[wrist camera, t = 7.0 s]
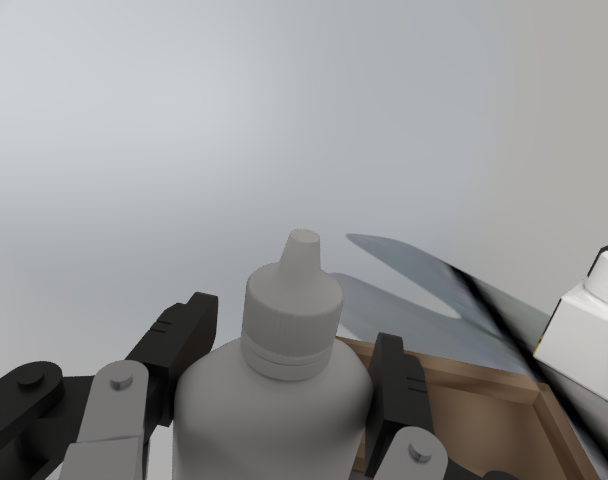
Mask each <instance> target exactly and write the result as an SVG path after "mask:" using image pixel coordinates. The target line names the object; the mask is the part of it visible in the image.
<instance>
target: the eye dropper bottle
mask: <svg viewBox="0 0 608 480" xmlns="http://www.w3.org/2000/svg"><path fill="white" fill-rule="evenodd" d="M343 302H344V293H343V290H342V288H341V286H340V285H339V283H338V282H337V281H336V280H335V279H334V278H333V277H332V276H331V275H329V274H328V273H326V272H324V271H323V270H321V268H320V237H319V235H318V234H317V233H315V232H313V231H311V230H307V229H295V230H292V231H291V232H290V235H289V237H288V240H287V243H286V246H285V248H284V251H283V254H282V256H281V259H280V261H279V262H277V263H271V264H268V265H265V266H263V267H261V268H259V269H257V270H256V271H254V272H253V274H251V276H250V277H249V279H248V281H247V286H246V295H245V304H244V313H243V323H242V332H241V337H240V338H238V339H235V340H233V341H231V342H229V343H227V344H225V345H223V346H221V347H219V348H217V349H216V350H213V351H212V352H210V353H208V354H207V355H205V356H204V357H202V358H200V359H199V360H198V361H196V362H195V363H193V364H192V365H191V366H189V367H188V368H187V369H186V371H185V372H184V373H183V374H182V375H181V376H180V378H179V380H178V383H177V386H176V391H175V396H174V417H173V461H172V480H348V479H349V476H350V472H351V469H352V466H353V463H354V460H355V456H356V453H357V450H358V447H359V444H360V440H361V437H362V434H363V431H364V428H365V424H366V420H367V417H368V413H369V410H370V406H371V403H372V399H373V392H374V390H373V384H372V380H371V377H370V375H369V373H368V371H367V370H366V368H365V366H364V365H363V363H362V362H361V360H360V359H359V358H358V356H357V355H356V354H355V352H354V351H353V350H352V349H351V348H350V347H349V346H348V345H346V344H345V343H344V342H342V341H340V340H338V339H335V336H336V332H337V327H338V323H339V319H340V315H341V311H342V306H343Z"/></svg>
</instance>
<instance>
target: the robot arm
mask: <svg viewBox="0 0 608 480" xmlns="http://www.w3.org/2000/svg"><path fill="white" fill-rule="evenodd" d="M217 314H218V297H217V296H214V295H210V294H205V293H200V292H195V293H194V295H193V296H192V297H191V299H190V300H189V301H188V303H187V304H182V303H176V304H175V305H173V306H171V307H169V308H167V309H166V310H164V312H163V313H162V314H161V315H160V317H159V318H158V319H157V321H156V322H155V323H154V324H153V325H152V326H151V328H150V330H148V332H147V333H146V334H145V335H144V336H143V337H142V339H141V340H140V341H139V342H138V344H137V345H136V346H135V347H134V349H133V350H132V351H131V352H130V354H129V355H128V356H127V357H126V358H125V360H121V361H116V362H113V363H111V364H108V365H106V366H105V367H103V368H102V369H101V370H99V372H98V373H97V374H96V375H94V376H75V377H63V375H62V370H61V368H60V367H59V366H58V365H56V364H55V363H51V362H47V361H39V362H32V363H28V364H24V365H22V366H19V367H17V368H15V369H14V370H12V371H11V372H9V373H8V374H6V375H5V376H3V377H2V378H0V480H45V479H46V478H47V477H48V476H49V475H50V474H51V473H52V472H53V471H54V470H55V469H56V468H57V467H58V466H59V465H60V464H61V463H62V462H63V461H64V462H63V465H62V469H61V472H60V476H59V479H58V480H147V474H148V461H149V451H150V436H151V435H152V433H153V431H154V429H155V428H156V426H157V425H161V426H165V427H169V425H170V424H171V422H172V420H173V417H174V396H175V391H176V386H177V383H178V380H179V378H180V376H181V375H182V374H183V373H184V372H185V371H186V369H187V368H188V367H189V366H191V365H192V364H193V363H195V362H196V361H198V360H199V359H200V358H202V357H204V356H205V355H207V354H208V353H209V352H210V351H211V349H212V346H213V343H214V340H215V336H216V327H217ZM368 373H369V375H370V377H371V380H372V384H373V390H374V392H373V399H372V403H371V406H370V410H369V413H368V417H367V420H366V424H365V468H364V476H365V477H369V478H374V479H373V480H520V479H518V478H517V477H515V476H513V475H511V474H509V473H507V472H503V471H498V470H493V471H489V472H487V473H486V474H485V475H484V476H483V477H480V476H478V475H476V474H475V473H473V472H471V471H469V470H467V469H465V468H463V467H462V466H460V465H458V464H457V463H455V462H454V461H453V460H451V459H450V458H449V457H448V456H447V452H446V450H445V448H444V446H443V445H442V443H441V442H440V441H439V440H438V439H437V438H436V437H435V433H434V427H433V421H432V415H431V409H430V404H429V398H428V395H427V386H426V384H425V382H426V380H425V374H424V368H423V367H422V365H421V364H420V362H419V361H418V359H417V358H416V356H414V355H410V354H405V353H404V349H403V340H402V337H400V336H395V335H390V334H386V333H381V332H379V334H378V337H377V340H376V343H375V347H374V350H373V354H372V357H371V360H370V364H369V367H368Z"/></svg>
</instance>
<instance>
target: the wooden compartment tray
mask: <svg viewBox="0 0 608 480" xmlns="http://www.w3.org/2000/svg"><path fill="white" fill-rule="evenodd" d="M335 339H338V340H340V341H342V342H344V343H345V344H346V345H348V346H349V347H350V348H351V349H352V350H353V351H354V352H355V354H356V355H357V356H358V358H359V359H360V360H361V362H362V363H363V365H364V366H365V368H366V370H367V371H368V367H369V364H370V360H371V357H372V354H373V350H374V347H375V344H372V343H367V342H362V341H357V340H352V339H347V338H343V337H338V336H335ZM404 353H405V354H410V355H414V356H416V358H417V359H418V361H419V362H420V364H421V365H422V367H423V368H424V374H425V380H426V382H425V384H426V386H427V395H428V398H429V404H430V409H431V415H432V421H433V427H434V433H435V437H436V438H437V439H438V440H439V441H440V442H441V443H442V445H443V446H444V448H445V450H446V452H447V456H448V457H449V458H450V459H451V460H453V461H454V462H455V463H457V464H458V465H460V466H462V467H463V468H465V469H467V470H469V471H471V472H473V473H475V474H476V475H478V476H480V477H483V476H484V475H485V474H486V473H487V472H489V471H493V470H498V471H503V472H507V473H509V474H511V475H513V476H515V477H517V478H518V479H520V480H600V479H599V477H598V475H597V473H596V471H595V469H594V468H593V466H592V464H591V462H590V460H589V458H588V457H587V455H586V453H585V451H584V449H583V448H582V446H581V444H580V442H579V440H578V438H577V437H576V435H575V433H574V431H573V429H572V427H571V426H570V424H569V422H568V420H567V418H566V416H565V415H564V413H563V411H562V409H561V407H560V406H559V404H558V402H557V400H556V398H555V396H554V395H553V393H552V391H551V389H550V387H549V385H547V384H542V383H538V382H533V381H532V380H531V378H530V376H527V375H522V374H517V373H512V372H507V371H503V370H498V369H493V368H488V367H483V366H478V365H474V364H469V363H464V362H459V361H454V360H449V359H444V358H440V357H435V356H430V355H425V354H420V353H415V352H411V351H406V350H404ZM364 468H365V428H364V431H363V434H362V437H361V440H360V444H359V447H358V450H357V453H356V456H355V460H354V463H353V466H352V469H351V472H350V476H349V479H348V480H373V479H374V478H369V477H365V476H364Z"/></svg>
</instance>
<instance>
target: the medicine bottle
mask: <svg viewBox="0 0 608 480" xmlns="http://www.w3.org/2000/svg"><path fill="white" fill-rule="evenodd" d="M533 356H534V358H536V359H537V360H539V361H541V362H542V363H544V364H546V365H547V366H549V367H551V368H552V369H554V370H556V371H557V372H559V373H561V374H563V375H564V376H566V377H568V378H569V379H571V380H573V381H574V382H576V383H578V384H579V385H581V386H583V387H585V388H586V389H588V390H590V391H591V392H593V393H595V394H596V395H598V396H600V397H601V398H603V399H605V400H606V401H608V246H605V247H603V248H601V249H600V251H599V253H598V255H597V257H596V259H595V261H594V263H593V265H592V267H591V269H590V271H589V272H588V274H587V276H586V278H585V279H583V280H582V281H581V282H580V283H578V284H577V285H576V286H574V287H573V288H572V289H571V290H569V291H568V292H567V293H566V294H564V295H563V296H562V297H561V298H560V300H559V302H558V305H557V307H556V309H555V311H554V312H553V315H552V317H551V319H550V321H549V323H548V325H547V327H546V329H545V331H544V333H543V335H542V337H541V339H540V341H539V343H538V345H537V347H536V349H535V351H534V353H533Z"/></svg>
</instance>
